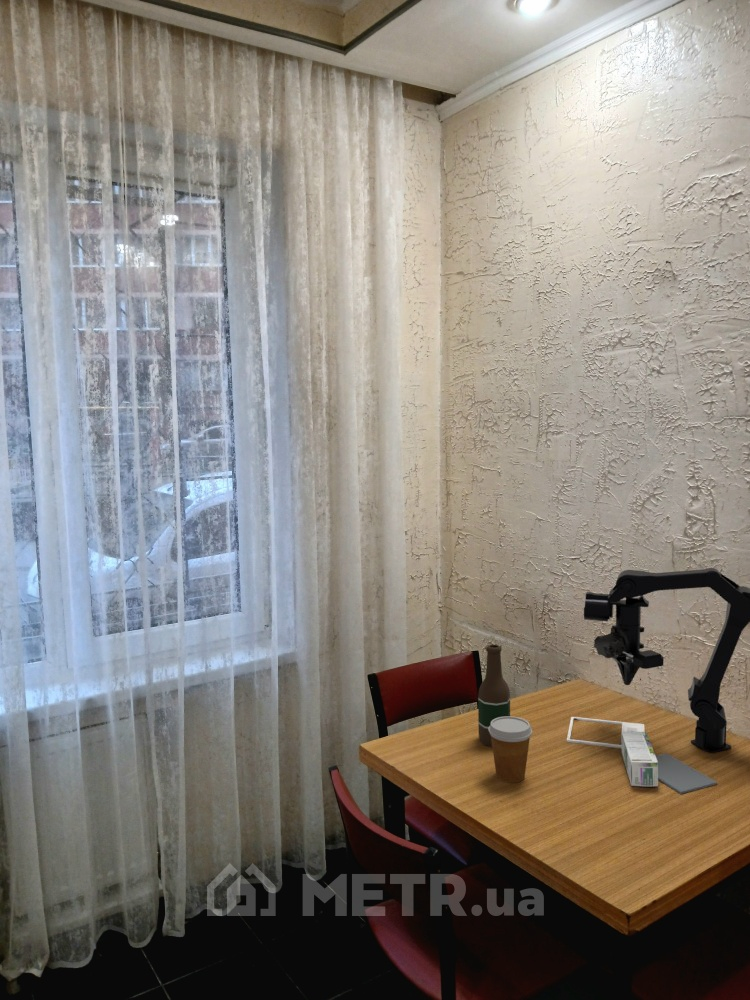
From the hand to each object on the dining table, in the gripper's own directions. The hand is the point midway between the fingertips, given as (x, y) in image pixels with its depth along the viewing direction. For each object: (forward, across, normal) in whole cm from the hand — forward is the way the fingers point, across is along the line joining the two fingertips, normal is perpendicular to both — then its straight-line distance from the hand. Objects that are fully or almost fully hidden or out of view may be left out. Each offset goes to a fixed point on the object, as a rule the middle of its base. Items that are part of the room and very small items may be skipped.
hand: (627, 684), depth 185 cm
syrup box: (+10, +10, -6) cm, 15 cm away
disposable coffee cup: (+13, +6, -37) cm, 40 cm away
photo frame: (+14, -3, -4) cm, 15 cm away
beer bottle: (+13, -11, -31) cm, 35 cm away
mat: (+13, +20, -4) cm, 24 cm away
